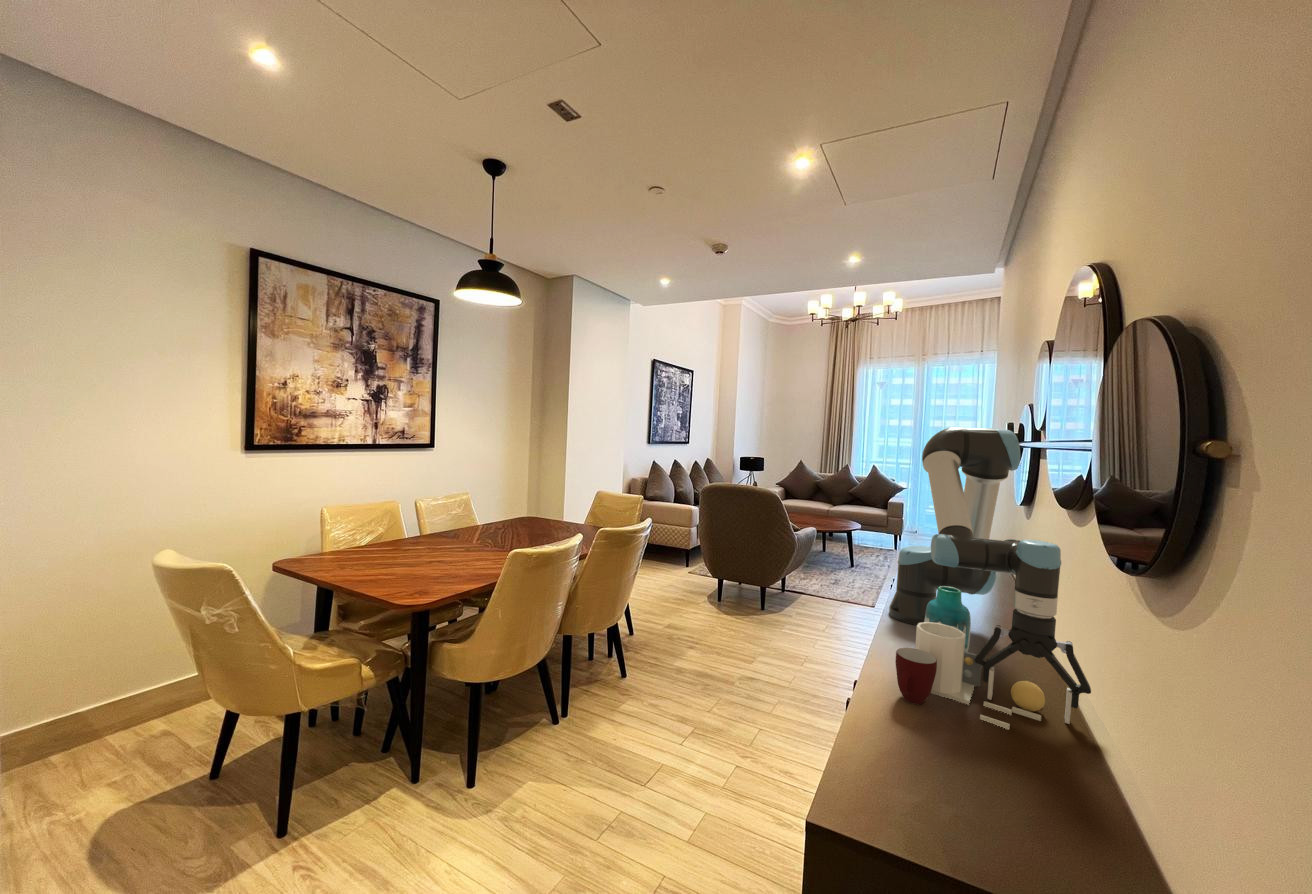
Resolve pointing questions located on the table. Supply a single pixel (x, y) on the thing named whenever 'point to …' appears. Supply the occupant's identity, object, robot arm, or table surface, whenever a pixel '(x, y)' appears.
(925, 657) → the mug
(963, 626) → the vase
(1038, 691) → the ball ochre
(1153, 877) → the table surface
